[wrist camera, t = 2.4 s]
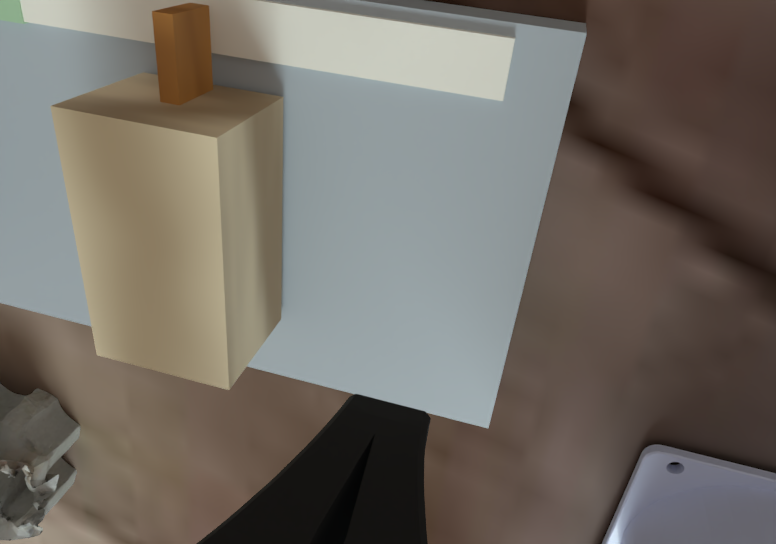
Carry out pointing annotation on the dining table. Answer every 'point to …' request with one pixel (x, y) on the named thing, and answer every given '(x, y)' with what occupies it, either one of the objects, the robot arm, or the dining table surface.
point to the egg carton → (32, 460)
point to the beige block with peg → (177, 209)
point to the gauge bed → (330, 174)
